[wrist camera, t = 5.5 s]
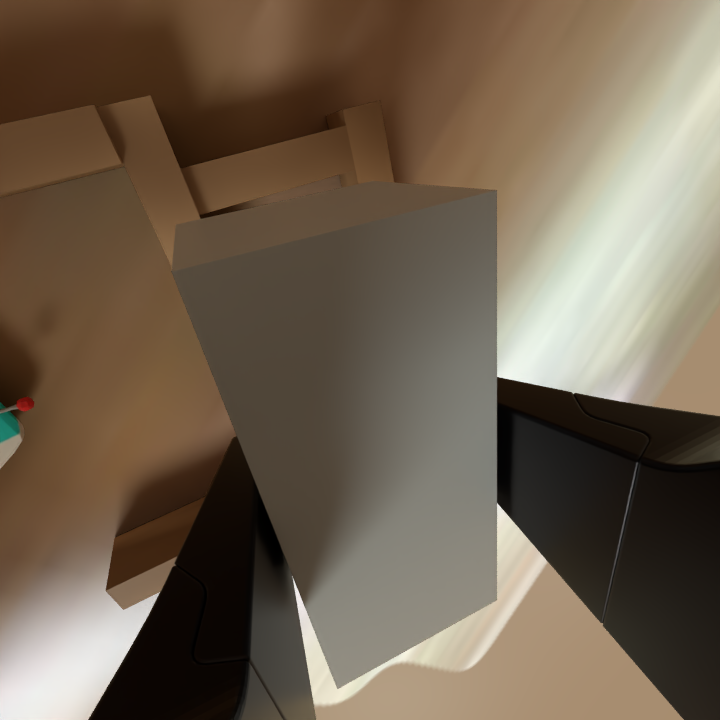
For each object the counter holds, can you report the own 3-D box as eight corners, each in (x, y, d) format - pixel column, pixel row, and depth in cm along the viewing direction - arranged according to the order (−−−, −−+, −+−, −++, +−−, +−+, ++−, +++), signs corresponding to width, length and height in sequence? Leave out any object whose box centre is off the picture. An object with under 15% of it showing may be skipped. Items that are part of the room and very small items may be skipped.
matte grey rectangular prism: (372, 180, 9) (496, 189, 5) (414, 487, 13) (497, 600, 9) (175, 224, 8) (171, 271, 4) (292, 540, 12) (337, 689, 8)
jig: (419, 420, 25) (447, 449, 22) (129, 556, 21) (123, 609, 18) (350, 62, 16) (384, 42, 13) (-179, 180, 12) (-275, 182, 9)
